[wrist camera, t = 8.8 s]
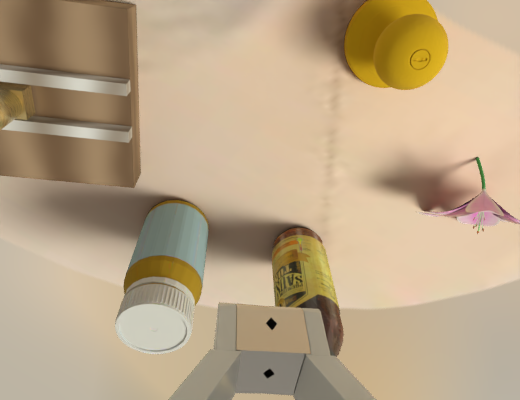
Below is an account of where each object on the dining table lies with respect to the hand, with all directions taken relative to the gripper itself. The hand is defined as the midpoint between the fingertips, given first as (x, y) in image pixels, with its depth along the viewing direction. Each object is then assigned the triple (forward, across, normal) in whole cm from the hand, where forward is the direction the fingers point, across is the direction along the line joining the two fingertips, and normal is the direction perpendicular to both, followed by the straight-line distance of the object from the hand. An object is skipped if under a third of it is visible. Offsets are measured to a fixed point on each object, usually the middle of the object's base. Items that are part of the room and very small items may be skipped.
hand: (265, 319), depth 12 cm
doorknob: (+29, -12, -4) cm, 32 cm away
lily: (+29, -25, +10) cm, 40 cm away
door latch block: (+29, +20, +4) cm, 36 cm away
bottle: (+29, +6, +18) cm, 35 cm away
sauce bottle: (+29, -8, +20) cm, 36 cm away
